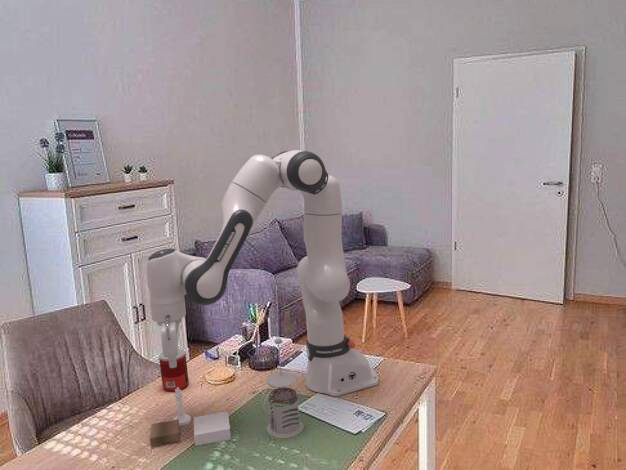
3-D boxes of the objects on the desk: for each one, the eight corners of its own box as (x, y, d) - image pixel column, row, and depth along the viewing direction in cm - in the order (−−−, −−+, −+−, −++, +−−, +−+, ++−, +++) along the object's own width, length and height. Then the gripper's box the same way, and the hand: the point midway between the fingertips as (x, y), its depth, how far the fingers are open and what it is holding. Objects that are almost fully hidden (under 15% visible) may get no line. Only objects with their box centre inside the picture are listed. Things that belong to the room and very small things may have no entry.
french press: (311, 427, 138) (305, 337, 134) (276, 446, 131) (268, 351, 126) (288, 413, 146) (281, 328, 141) (253, 431, 138) (245, 341, 133)
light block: (228, 421, 144) (227, 411, 143) (231, 439, 135) (230, 428, 134) (194, 427, 142) (193, 417, 141) (195, 446, 133) (194, 435, 133)
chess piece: (186, 426, 142) (182, 392, 141) (169, 425, 144) (165, 391, 142) (193, 416, 147) (190, 383, 145) (177, 415, 148) (173, 383, 146)
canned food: (192, 386, 165) (189, 354, 163) (167, 395, 161) (163, 361, 159) (183, 378, 171) (180, 346, 169) (159, 386, 167) (155, 353, 165)
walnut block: (179, 429, 142) (178, 419, 141) (179, 443, 135) (178, 432, 135) (152, 434, 140) (151, 424, 140) (151, 448, 134) (150, 438, 133)
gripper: (180, 321, 130) (185, 374, 132) (181, 298, 149) (186, 343, 152) (153, 325, 129) (159, 378, 131) (158, 300, 148) (163, 347, 151)
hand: (173, 359), depth 142 cm, fingers open, 8 cm apart
